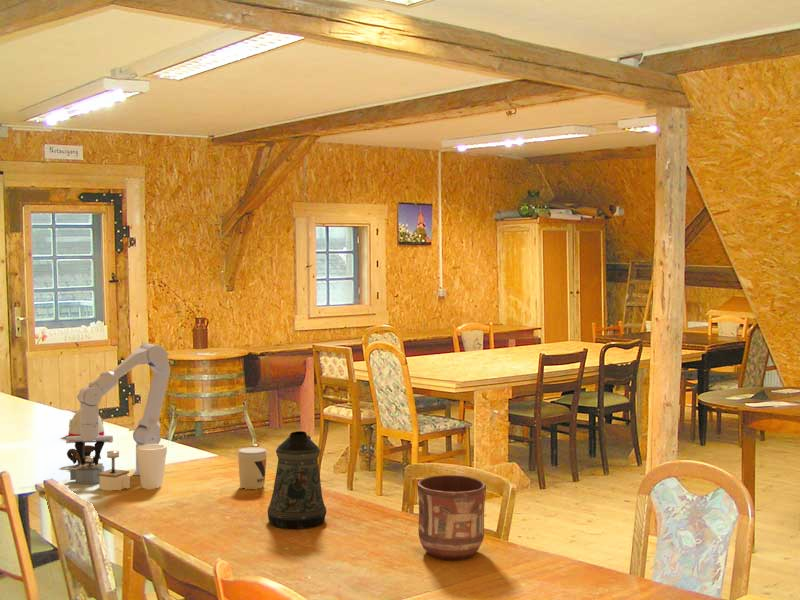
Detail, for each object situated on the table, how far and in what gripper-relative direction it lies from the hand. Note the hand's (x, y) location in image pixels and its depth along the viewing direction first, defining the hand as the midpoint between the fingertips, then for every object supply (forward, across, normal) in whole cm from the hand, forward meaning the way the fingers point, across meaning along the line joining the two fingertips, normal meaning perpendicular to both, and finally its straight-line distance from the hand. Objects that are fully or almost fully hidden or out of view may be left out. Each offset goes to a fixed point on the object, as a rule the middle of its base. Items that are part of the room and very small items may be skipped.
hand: (89, 464), depth 313 cm
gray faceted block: (+6, 0, 0) cm, 6 cm away
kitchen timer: (+6, +15, -81) cm, 83 cm away
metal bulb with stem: (+5, 0, 0) cm, 5 cm away
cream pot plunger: (+1, -9, +10) cm, 14 cm away
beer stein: (+6, -66, +54) cm, 85 cm away
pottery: (+6, -103, +88) cm, 136 cm away
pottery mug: (+6, +6, -23) cm, 25 cm away
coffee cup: (+6, -53, +13) cm, 55 cm away
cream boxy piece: (+6, -9, +10) cm, 15 cm away
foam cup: (+6, -21, +10) cm, 24 cm away
